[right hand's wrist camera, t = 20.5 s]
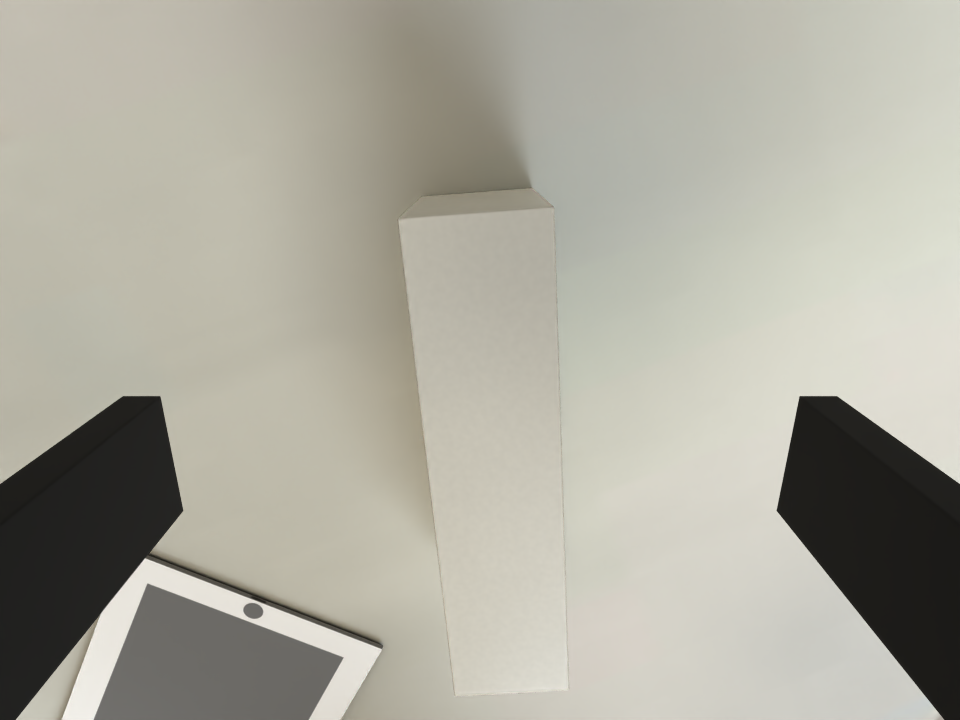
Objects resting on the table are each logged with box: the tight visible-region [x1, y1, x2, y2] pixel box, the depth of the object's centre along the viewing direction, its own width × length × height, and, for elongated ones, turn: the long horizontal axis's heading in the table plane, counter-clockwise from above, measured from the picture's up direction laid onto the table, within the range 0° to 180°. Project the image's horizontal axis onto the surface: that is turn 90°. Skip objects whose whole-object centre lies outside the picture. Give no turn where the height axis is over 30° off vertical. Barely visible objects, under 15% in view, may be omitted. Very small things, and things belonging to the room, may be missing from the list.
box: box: [398, 188, 569, 697], centre depth 34 cm, size 27×6×11 cm, turn 4°
